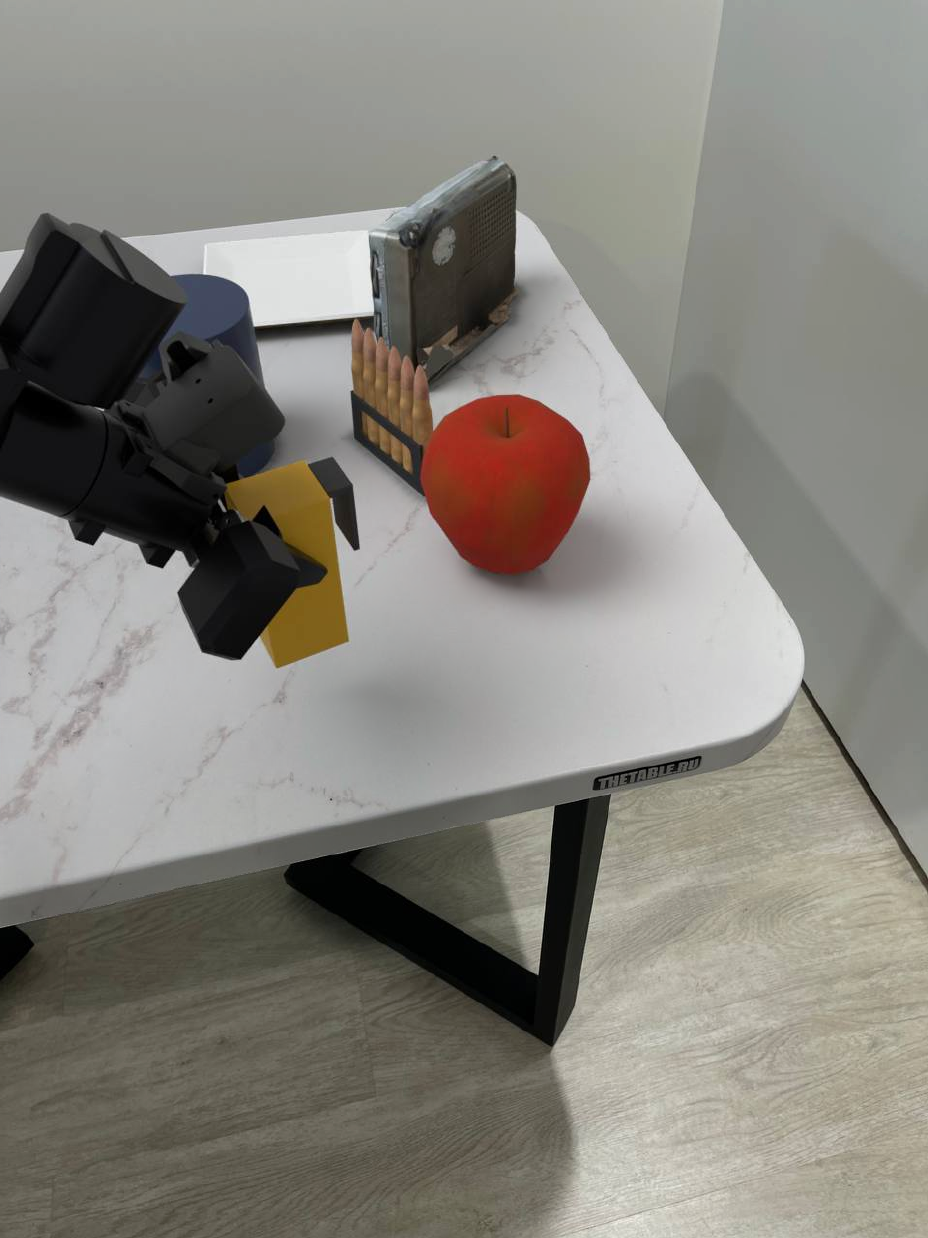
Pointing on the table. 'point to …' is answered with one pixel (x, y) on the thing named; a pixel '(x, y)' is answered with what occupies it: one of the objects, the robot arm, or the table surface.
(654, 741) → the table surface
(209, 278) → the navy blue cylinder
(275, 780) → the table surface
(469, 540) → the apple
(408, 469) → the ammunition clip
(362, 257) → the plate
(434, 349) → the radio
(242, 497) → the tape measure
